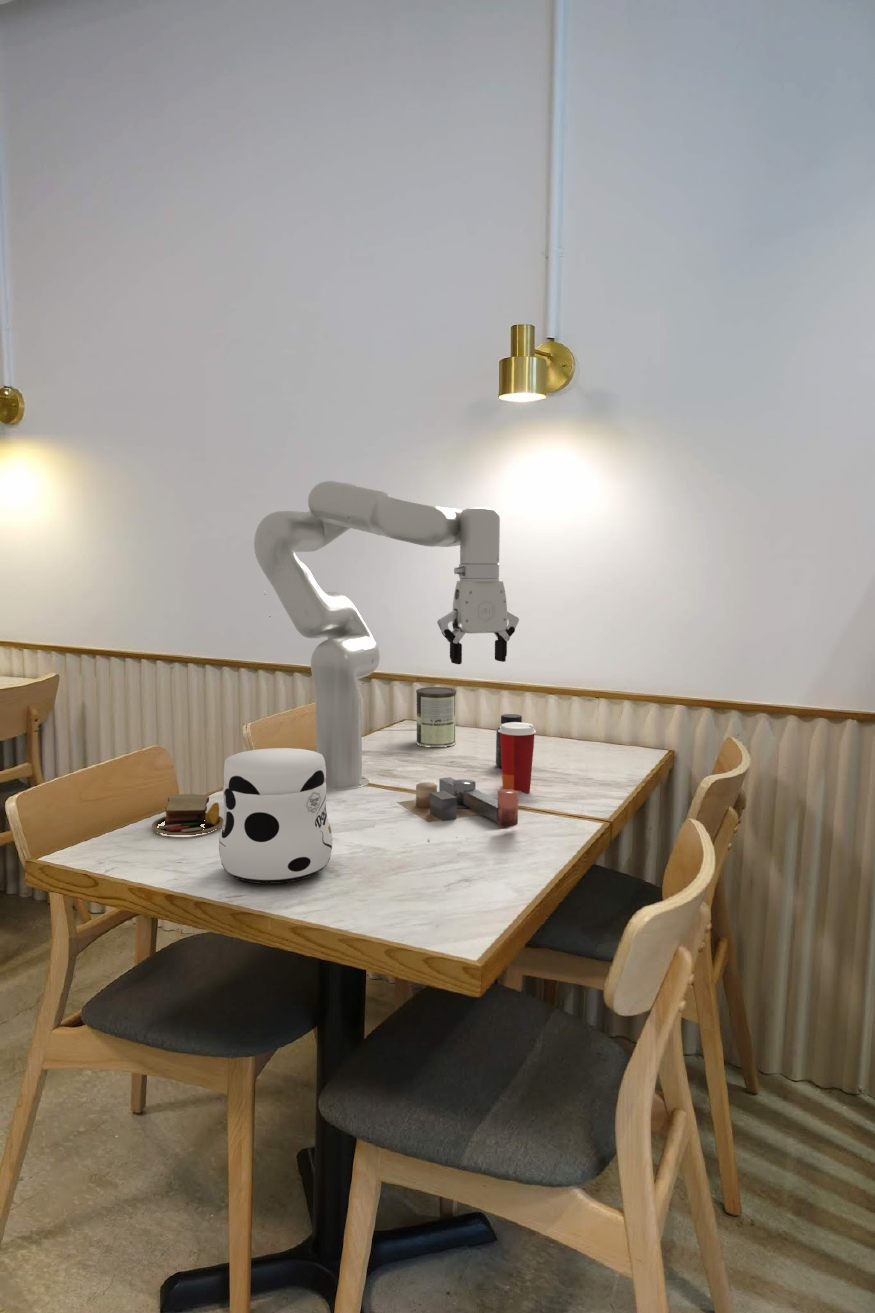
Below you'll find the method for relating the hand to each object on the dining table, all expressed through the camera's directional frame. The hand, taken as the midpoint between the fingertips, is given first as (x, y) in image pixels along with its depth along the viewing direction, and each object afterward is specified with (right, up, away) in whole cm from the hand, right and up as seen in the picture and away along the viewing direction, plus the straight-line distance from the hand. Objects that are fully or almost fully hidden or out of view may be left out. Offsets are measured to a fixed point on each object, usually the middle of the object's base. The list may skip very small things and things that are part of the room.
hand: (478, 662), depth 173 cm
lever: (-1, -27, -5) cm, 28 cm away
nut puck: (-10, -28, -1) cm, 29 cm away
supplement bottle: (+9, -25, +34) cm, 43 cm away
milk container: (-33, -33, -34) cm, 57 cm away
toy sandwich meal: (-53, -30, -12) cm, 62 cm away
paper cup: (+8, -27, +13) cm, 31 cm away
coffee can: (-8, -22, +58) cm, 63 cm away
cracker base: (-5, -29, -2) cm, 29 cm away
